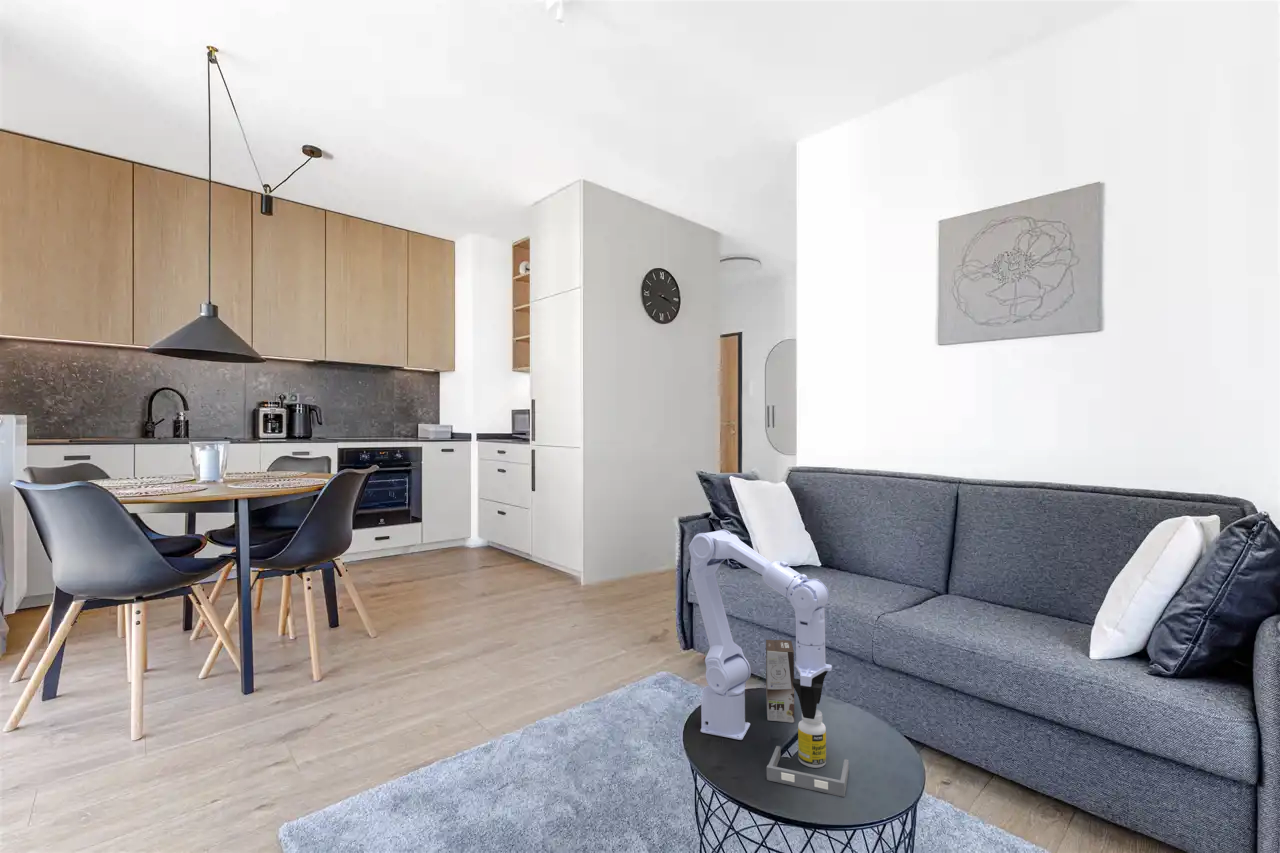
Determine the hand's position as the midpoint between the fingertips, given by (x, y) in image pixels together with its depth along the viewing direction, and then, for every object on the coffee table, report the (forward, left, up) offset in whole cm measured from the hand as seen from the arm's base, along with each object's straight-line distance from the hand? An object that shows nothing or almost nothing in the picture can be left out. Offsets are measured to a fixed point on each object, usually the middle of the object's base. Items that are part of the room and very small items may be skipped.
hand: (811, 709), depth 119 cm
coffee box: (-10, +20, -10) cm, 24 cm away
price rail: (0, -6, -10) cm, 12 cm away
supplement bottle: (0, 0, -10) cm, 10 cm away
